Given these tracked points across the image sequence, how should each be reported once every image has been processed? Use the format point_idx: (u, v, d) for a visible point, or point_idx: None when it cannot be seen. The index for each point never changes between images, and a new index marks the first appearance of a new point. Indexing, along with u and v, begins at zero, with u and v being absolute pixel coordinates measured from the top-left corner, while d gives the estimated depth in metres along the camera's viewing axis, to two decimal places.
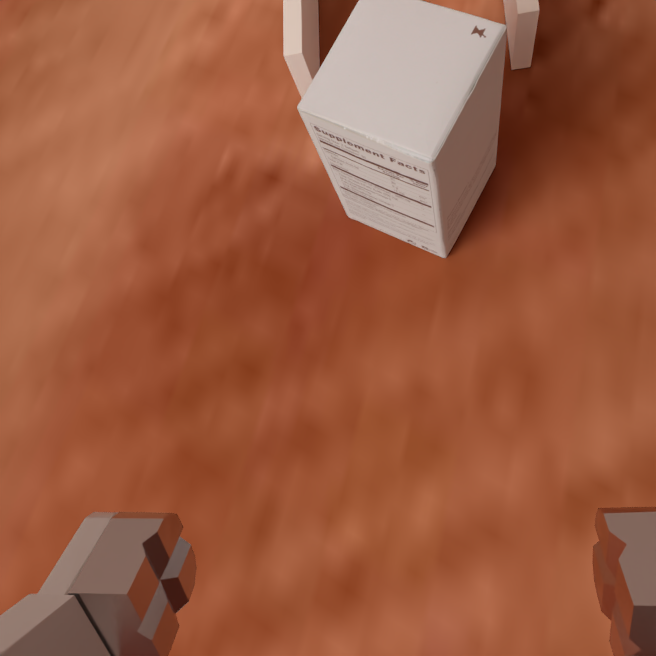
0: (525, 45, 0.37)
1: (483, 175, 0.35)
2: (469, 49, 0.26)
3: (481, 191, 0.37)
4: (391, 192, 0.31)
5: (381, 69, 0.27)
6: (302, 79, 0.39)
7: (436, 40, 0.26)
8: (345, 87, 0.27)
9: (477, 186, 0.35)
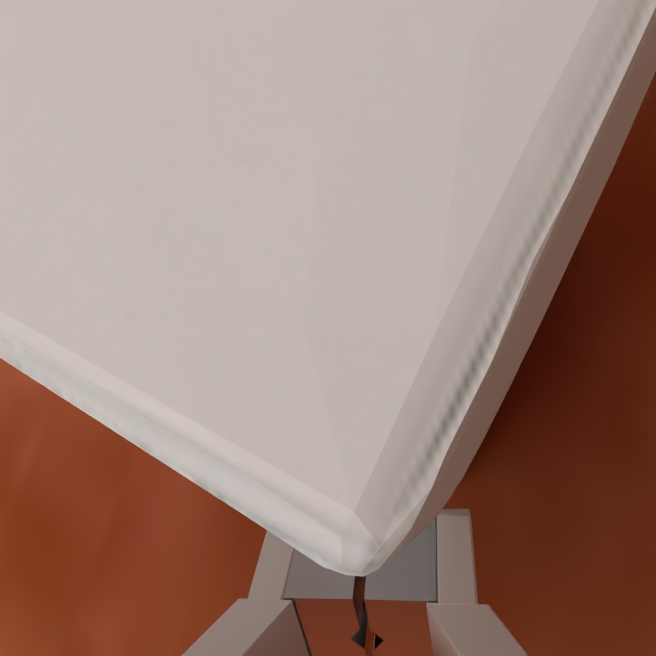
0: None
1: None
2: None
3: None
4: None
5: None
6: None
7: None
8: None
9: None
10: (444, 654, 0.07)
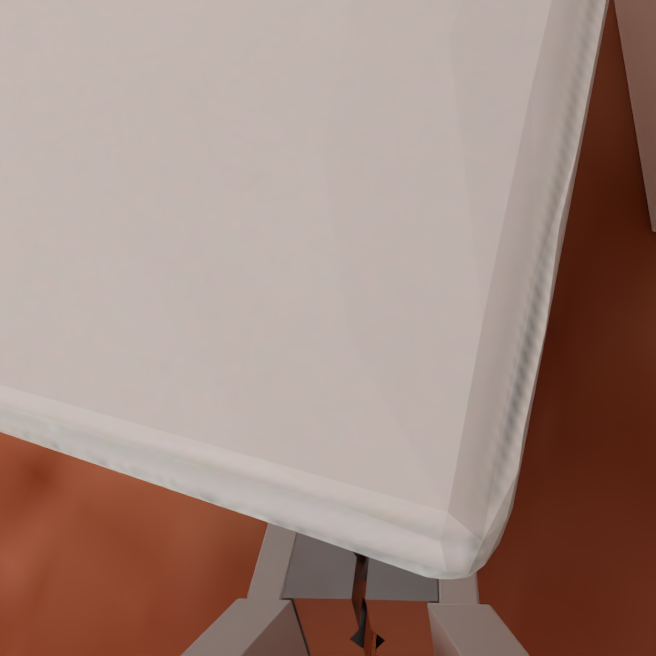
0: None
1: None
2: None
3: None
4: None
5: None
6: None
7: None
8: None
9: None
10: (445, 654, 0.07)
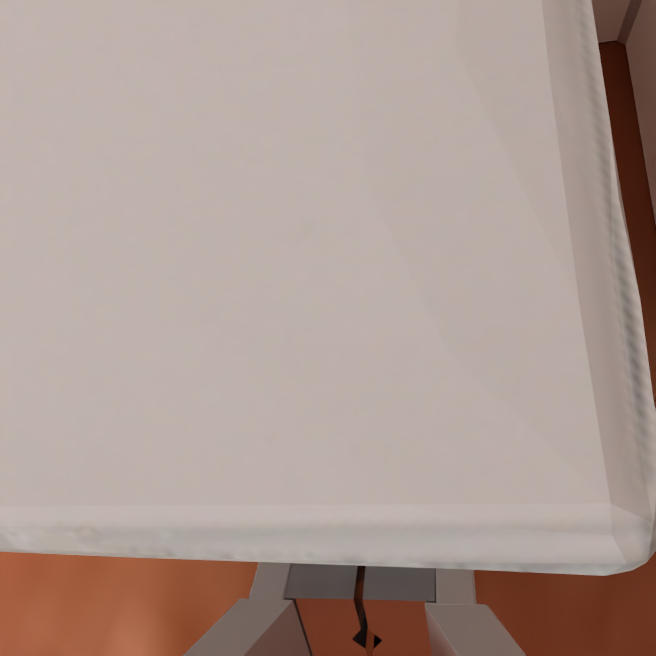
0: None
1: None
2: None
3: None
4: None
5: None
6: None
7: None
8: None
9: None
10: (442, 654, 0.07)
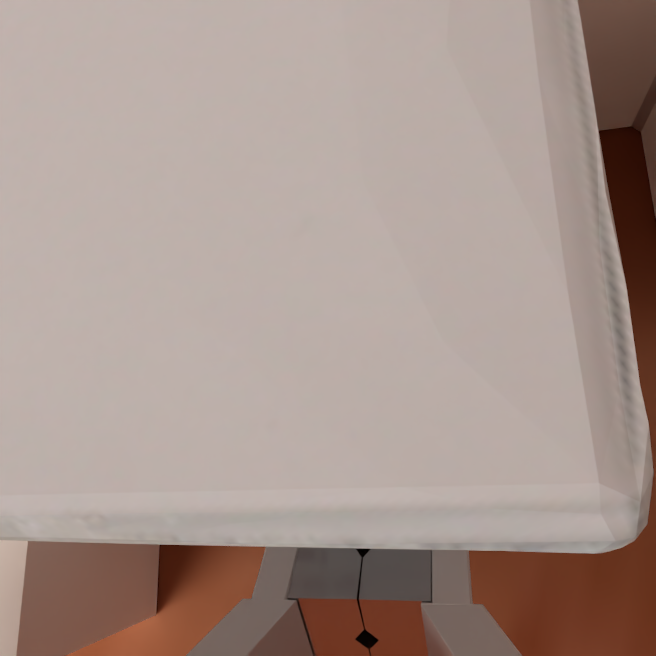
0: None
1: None
2: None
3: None
4: None
5: None
6: None
7: None
8: None
9: None
10: (438, 654, 0.07)
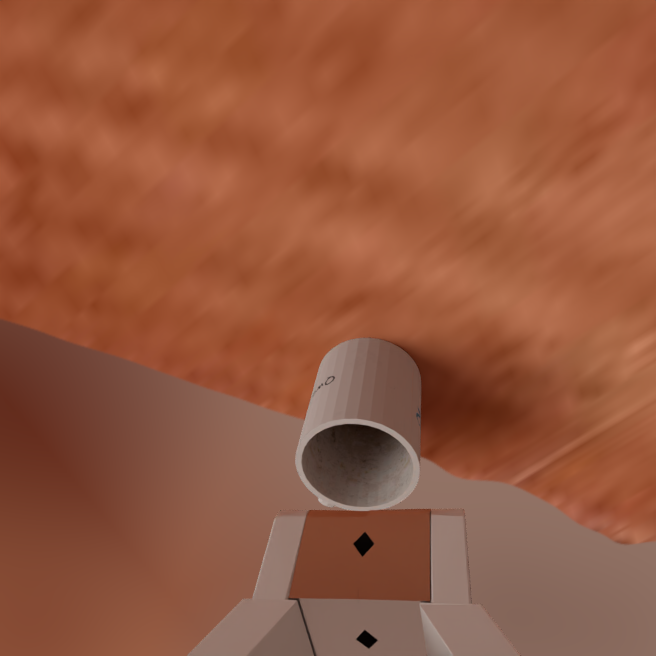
0: None
1: None
2: None
3: None
4: None
5: None
6: None
7: None
8: None
9: None
10: (437, 654, 0.07)
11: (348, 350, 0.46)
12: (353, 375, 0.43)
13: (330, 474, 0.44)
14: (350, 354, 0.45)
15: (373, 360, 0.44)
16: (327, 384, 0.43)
